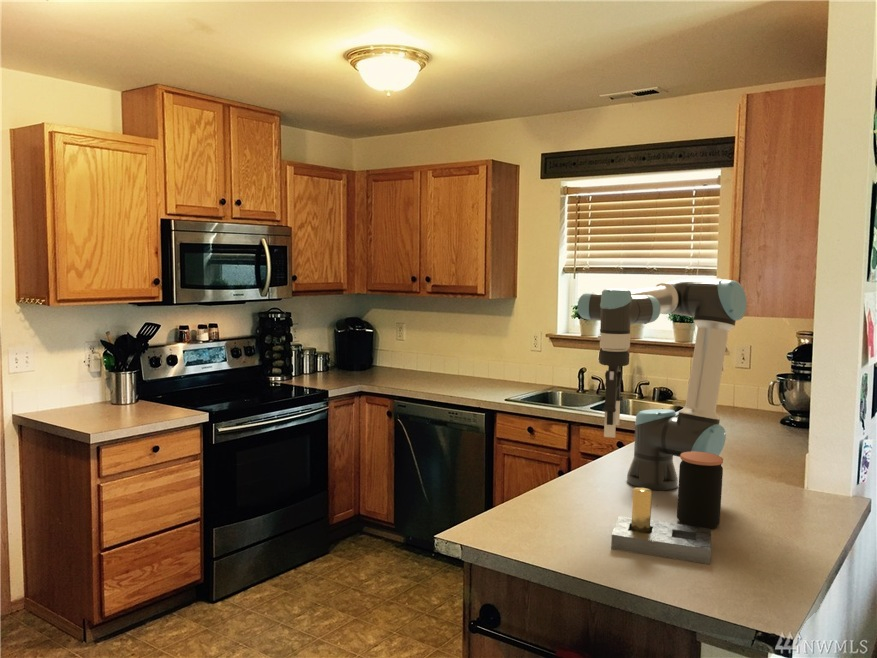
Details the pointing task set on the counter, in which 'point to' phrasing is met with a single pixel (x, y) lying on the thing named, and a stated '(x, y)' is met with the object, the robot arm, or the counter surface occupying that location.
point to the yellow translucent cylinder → (641, 510)
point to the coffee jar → (700, 489)
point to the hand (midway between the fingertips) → (611, 430)
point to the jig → (664, 540)
